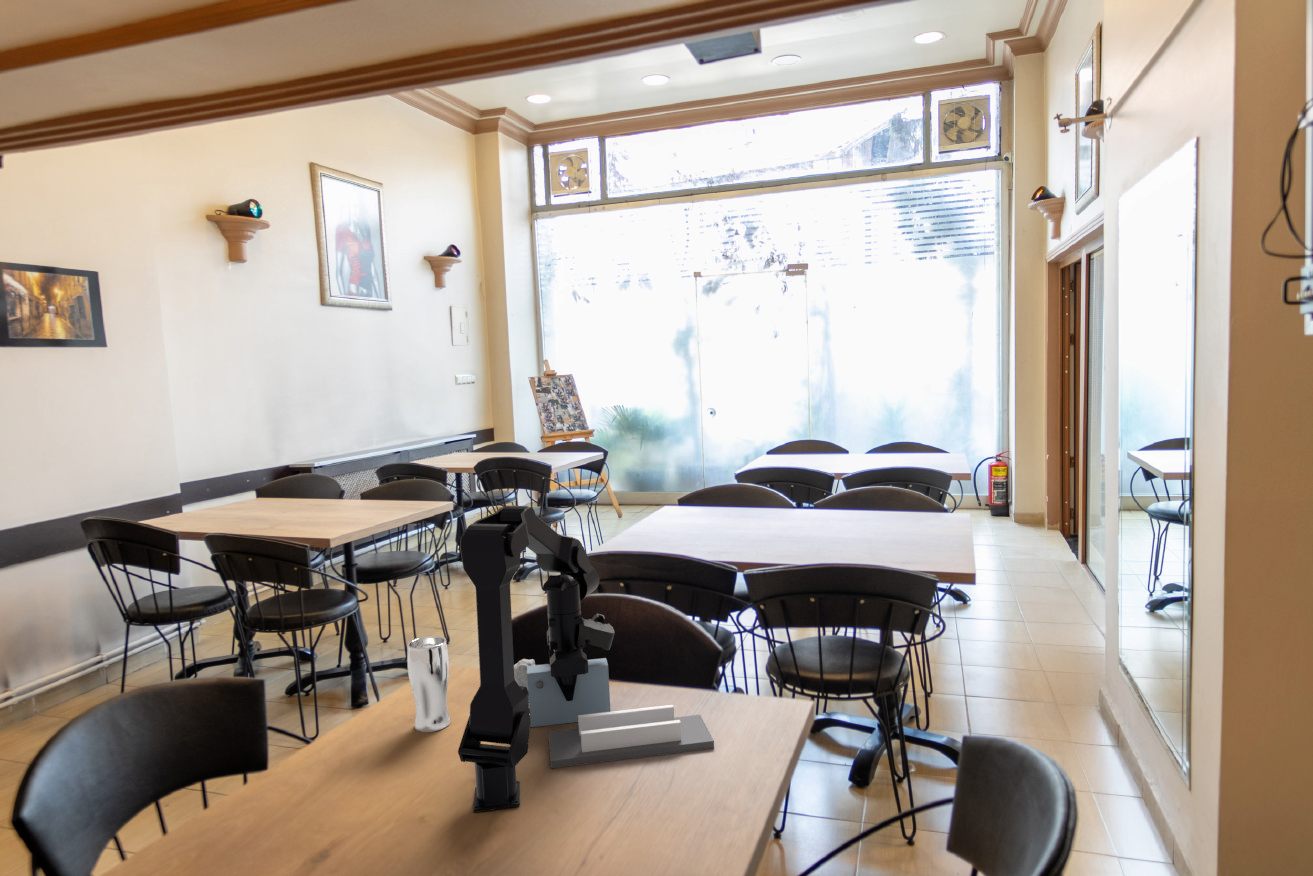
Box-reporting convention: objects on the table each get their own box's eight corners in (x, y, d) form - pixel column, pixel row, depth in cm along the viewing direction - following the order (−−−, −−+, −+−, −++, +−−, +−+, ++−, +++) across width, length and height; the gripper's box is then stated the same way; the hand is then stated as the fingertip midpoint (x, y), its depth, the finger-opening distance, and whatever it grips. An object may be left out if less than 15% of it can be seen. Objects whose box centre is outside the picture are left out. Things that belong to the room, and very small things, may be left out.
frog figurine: (527, 704, 149) (525, 667, 148) (499, 697, 152) (497, 661, 152) (548, 692, 154) (546, 656, 153) (520, 685, 158) (518, 651, 157)
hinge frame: (714, 748, 129) (713, 722, 128) (551, 768, 124) (549, 742, 124) (700, 721, 138) (699, 697, 138) (548, 739, 134) (547, 715, 134)
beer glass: (441, 734, 138) (435, 649, 136) (404, 732, 139) (398, 648, 138) (459, 717, 144) (454, 636, 143) (424, 715, 146) (418, 635, 144)
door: (611, 719, 141) (608, 666, 140) (530, 728, 138) (527, 675, 137) (608, 709, 145) (605, 658, 144) (530, 718, 142) (527, 666, 142)
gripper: (616, 621, 132) (620, 713, 134) (604, 591, 150) (608, 671, 152) (548, 628, 130) (553, 721, 132) (544, 596, 149) (549, 678, 150)
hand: (568, 696), depth 141 cm, fingers closed on door, 4 cm apart
